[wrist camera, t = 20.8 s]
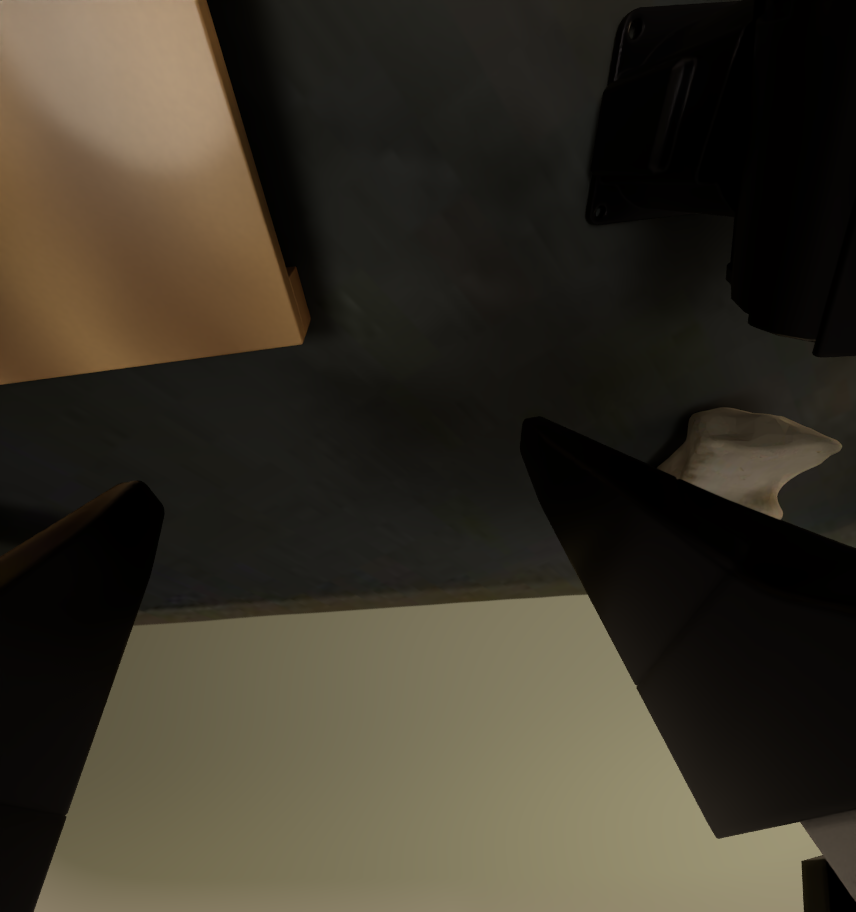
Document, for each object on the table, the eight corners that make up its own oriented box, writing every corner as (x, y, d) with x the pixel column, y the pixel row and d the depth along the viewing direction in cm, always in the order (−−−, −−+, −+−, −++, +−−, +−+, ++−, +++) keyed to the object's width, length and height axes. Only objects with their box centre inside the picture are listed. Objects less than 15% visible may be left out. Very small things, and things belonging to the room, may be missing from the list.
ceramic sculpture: (937, 472, 19) (729, 605, 29) (793, 390, 26) (662, 520, 35) (802, 456, 17) (621, 608, 26) (679, 369, 23) (570, 516, 32)
